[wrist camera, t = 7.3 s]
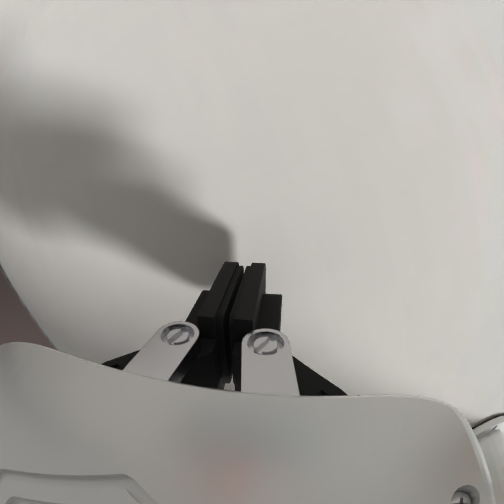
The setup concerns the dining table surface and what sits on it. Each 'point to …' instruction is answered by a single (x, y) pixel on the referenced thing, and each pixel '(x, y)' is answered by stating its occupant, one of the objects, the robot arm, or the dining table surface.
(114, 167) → the dining table surface
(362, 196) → the dining table surface
